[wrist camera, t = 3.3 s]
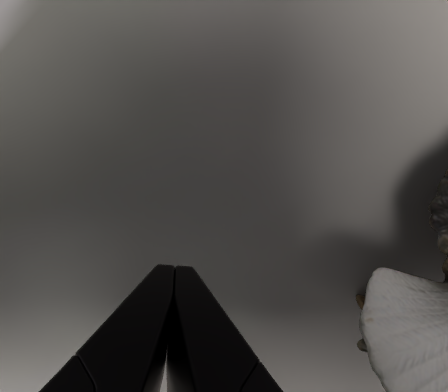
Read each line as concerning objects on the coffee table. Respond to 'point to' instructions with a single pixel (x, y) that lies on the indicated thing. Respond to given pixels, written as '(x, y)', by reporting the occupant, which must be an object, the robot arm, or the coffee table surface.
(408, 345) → the eagle figurine
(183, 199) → the coffee table surface
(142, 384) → the robot arm
